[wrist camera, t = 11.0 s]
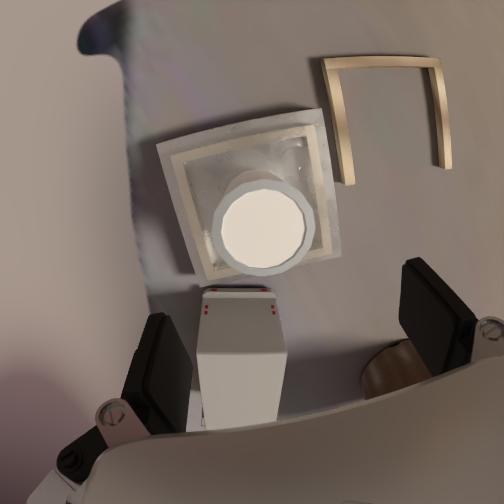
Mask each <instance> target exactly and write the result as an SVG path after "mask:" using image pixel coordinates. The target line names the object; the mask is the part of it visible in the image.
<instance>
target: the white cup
mask: <svg viewBox="0 0 504 504" xmlns="http://www.w3.org/2000/svg"><path fill="white" fill-rule="evenodd" d="M315 230H316V227H315V220H314V214H313V209H312V208H311V206H310V205H309V203H308V202H307V200H306V199H305V197H304V196H303V194H302V193H301V192H299V191H298V190H297V189H295V188H294V187H292V186H291V185H289V184H288V183H286V182H285V181H284V180H282V179H281V178H279V177H277V176H276V175H274V174H273V173H271V172H270V171H265V170H259V169H253V170H249V171H245V172H242V173H241V174H239V175H238V176H236V177H235V178H234V179H232V181H231V182H230V184H229V185H228V187H227V189H226V190H225V192H224V194H223V196H222V198H221V200H220V202H219V204H218V206H217V208H216V210H215V212H214V217H213V224H212V231H211V234H212V237H213V241H214V244H215V247H216V251H217V252H218V253H219V255H220V256H221V257H222V258H223V259H224V260H225V262H226V263H227V264H228V265H229V266H231V267H233V268H234V269H236V270H238V271H240V272H242V273H244V274H247V275H255V276H264V277H265V276H269V275H274V274H278V273H283V272H285V271H286V270H288V269H289V268H291V267H293V266H294V265H296V264H297V263H299V262H300V261H301V259H302V258H303V257H304V255H305V254H306V253H307V251H308V250H309V249H310V247H311V245H312V241H313V237H314V233H315Z"/></svg>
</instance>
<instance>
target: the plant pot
mask: <svg viewBox="0 0 504 504" xmlns="http://www.w3.org/2000/svg"><path fill="white" fill-rule="evenodd" d="M430 378H432V376H431V374H430V373H429V371H428V369H427V367H426V366H425V364H424V362H423V361H422V359H421V357H420V356H419V354H418V352H417V351H416V349H415V347H414V346H413V344H412V342H411V341H410V339H409V340H404V341H401V342H400V343H399V344H398V345H397V346H394V347H388V348H386V349H384V350H383V351H381V352H380V353H379V354H378V355H376V356H375V357H374V358H373V359H372V360H371V361H370V362H369V364H368V365H367V366H366V368H365V369H364V371H363V373H362V375H361V378H360V384H361V390H362V392H363V396H364V399H365V400H368V399H372V398H375V397H378V396H382V395H385V394H388V393H391V392H394V391H397V390H400V389H403V388H406V387H409V386H411V385H414V384H417V383H419V382H422V381H425V380H428V379H430Z"/></svg>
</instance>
